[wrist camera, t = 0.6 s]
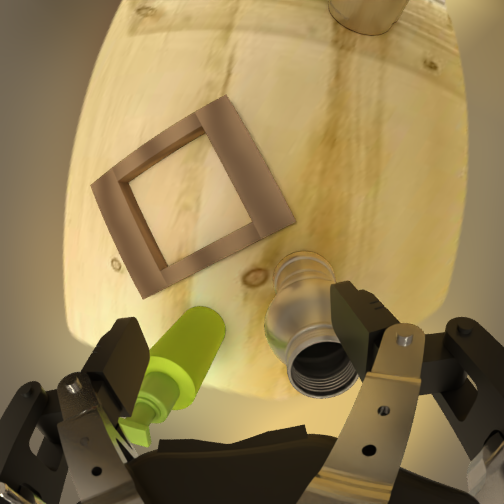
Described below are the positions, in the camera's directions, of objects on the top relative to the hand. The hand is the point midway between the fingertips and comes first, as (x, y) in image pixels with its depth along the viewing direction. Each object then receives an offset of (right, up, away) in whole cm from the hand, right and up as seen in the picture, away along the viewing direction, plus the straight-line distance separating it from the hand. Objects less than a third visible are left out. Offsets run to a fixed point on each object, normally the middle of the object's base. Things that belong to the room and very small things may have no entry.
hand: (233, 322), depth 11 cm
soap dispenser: (-6, -7, +24) cm, 25 cm away
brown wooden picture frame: (-7, +9, +21) cm, 24 cm away
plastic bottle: (+7, 0, +21) cm, 22 cm away
